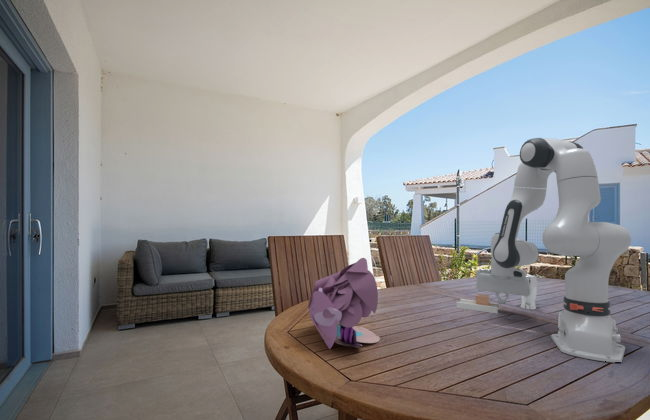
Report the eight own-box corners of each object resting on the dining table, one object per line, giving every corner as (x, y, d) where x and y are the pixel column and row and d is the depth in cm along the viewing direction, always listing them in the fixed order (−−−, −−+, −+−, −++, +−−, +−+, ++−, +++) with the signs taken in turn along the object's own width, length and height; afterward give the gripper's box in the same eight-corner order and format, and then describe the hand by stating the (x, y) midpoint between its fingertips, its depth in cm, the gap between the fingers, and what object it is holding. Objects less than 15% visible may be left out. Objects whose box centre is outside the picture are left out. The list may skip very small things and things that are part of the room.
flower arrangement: (399, 367, 103) (420, 275, 104) (328, 363, 94) (352, 263, 95) (348, 322, 136) (364, 252, 136) (291, 317, 127) (309, 242, 127)
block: (488, 311, 145) (488, 297, 145) (475, 309, 148) (475, 295, 148) (490, 308, 149) (490, 294, 149) (477, 307, 152) (477, 293, 152)
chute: (497, 316, 142) (497, 307, 142) (456, 310, 151) (456, 302, 151) (499, 311, 148) (499, 303, 148) (460, 306, 157) (460, 298, 157)
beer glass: (540, 312, 149) (540, 277, 149) (524, 311, 149) (524, 276, 149) (531, 308, 156) (531, 274, 156) (516, 307, 156) (515, 274, 156)
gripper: (474, 269, 148) (474, 301, 148) (529, 273, 137) (529, 309, 136) (477, 267, 153) (477, 298, 153) (530, 271, 142) (530, 305, 142)
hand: (502, 303), depth 145 cm, fingers closed
